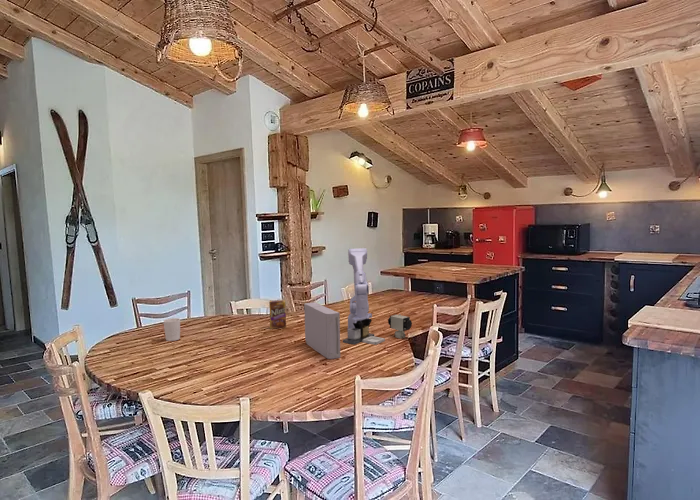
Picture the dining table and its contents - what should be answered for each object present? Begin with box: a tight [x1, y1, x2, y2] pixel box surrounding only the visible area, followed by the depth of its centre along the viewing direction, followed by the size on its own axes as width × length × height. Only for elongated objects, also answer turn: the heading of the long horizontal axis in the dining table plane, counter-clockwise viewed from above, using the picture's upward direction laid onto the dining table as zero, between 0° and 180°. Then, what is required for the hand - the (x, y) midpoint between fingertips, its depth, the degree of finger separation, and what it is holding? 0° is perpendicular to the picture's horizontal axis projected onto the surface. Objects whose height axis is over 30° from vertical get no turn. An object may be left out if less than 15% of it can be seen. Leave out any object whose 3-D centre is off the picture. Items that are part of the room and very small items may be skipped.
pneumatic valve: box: [387, 313, 413, 339], centre depth 228 cm, size 6×12×12 cm, turn 46°
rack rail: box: [342, 333, 375, 346], centre depth 225 cm, size 7×17×2 cm, turn 143°
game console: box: [303, 301, 341, 360], centre depth 209 cm, size 6×27×20 cm, turn 28°
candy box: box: [269, 299, 287, 330], centre depth 251 cm, size 9×4×15 cm, turn 98°
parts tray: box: [361, 335, 386, 346], centre depth 221 cm, size 8×8×2 cm
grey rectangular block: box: [346, 328, 361, 341], centre depth 222 cm, size 4×4×6 cm
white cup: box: [163, 317, 181, 342], centre depth 233 cm, size 8×8×10 cm
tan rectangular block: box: [361, 325, 370, 338], centre depth 227 cm, size 4×4×6 cm
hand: (362, 334), depth 227 cm, fingers closed on tan rectangular block, 4 cm apart
